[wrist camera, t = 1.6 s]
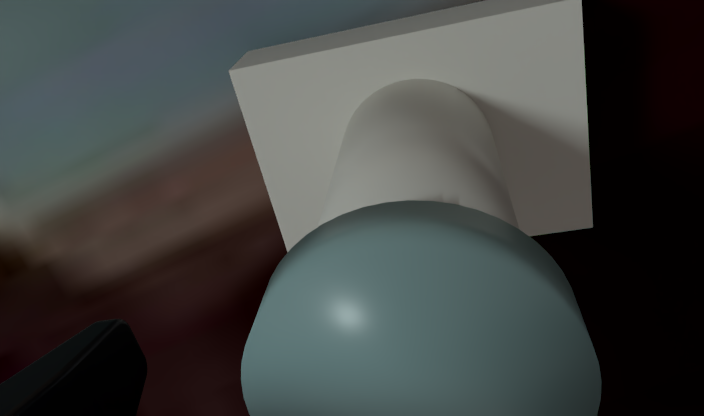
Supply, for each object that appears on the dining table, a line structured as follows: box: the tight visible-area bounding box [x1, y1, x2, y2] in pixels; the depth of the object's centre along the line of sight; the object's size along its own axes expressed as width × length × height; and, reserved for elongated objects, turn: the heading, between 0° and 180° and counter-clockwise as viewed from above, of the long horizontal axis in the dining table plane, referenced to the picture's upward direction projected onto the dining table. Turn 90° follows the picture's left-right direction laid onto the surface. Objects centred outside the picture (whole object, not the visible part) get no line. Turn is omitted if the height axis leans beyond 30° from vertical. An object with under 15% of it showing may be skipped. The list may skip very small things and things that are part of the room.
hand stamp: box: [229, 0, 601, 416], centre depth 11 cm, size 7×5×9 cm
